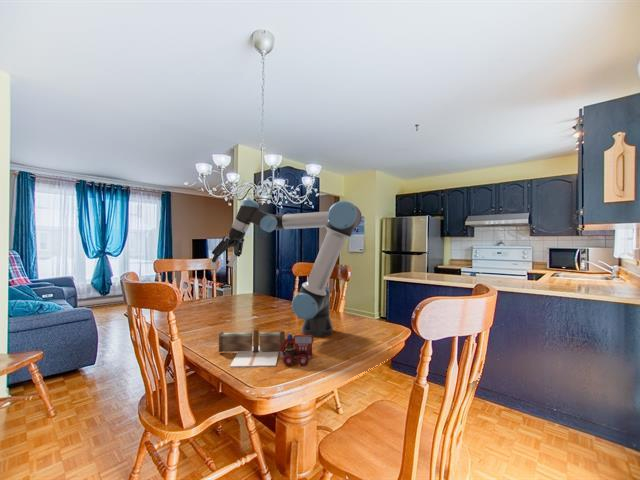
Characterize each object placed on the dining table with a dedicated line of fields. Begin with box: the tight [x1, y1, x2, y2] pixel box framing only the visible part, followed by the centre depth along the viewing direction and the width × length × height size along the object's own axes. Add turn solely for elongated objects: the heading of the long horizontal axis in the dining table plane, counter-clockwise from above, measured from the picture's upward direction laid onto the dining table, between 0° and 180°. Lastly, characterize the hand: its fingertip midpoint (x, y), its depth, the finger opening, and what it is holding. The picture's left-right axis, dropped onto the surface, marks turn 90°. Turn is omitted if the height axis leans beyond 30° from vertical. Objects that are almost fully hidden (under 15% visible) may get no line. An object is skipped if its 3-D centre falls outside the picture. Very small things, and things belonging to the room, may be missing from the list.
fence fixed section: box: [252, 328, 286, 352], centre depth 115 cm, size 12×2×9 cm, turn 94°
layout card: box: [229, 345, 279, 368], centre depth 111 cm, size 16×19×1 cm
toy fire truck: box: [278, 333, 314, 367], centre depth 105 cm, size 7×12×10 cm, turn 87°
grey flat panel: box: [218, 331, 253, 353], centre depth 114 cm, size 13×2×7 cm, turn 94°
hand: (221, 266), depth 142 cm, fingers open, 13 cm apart
